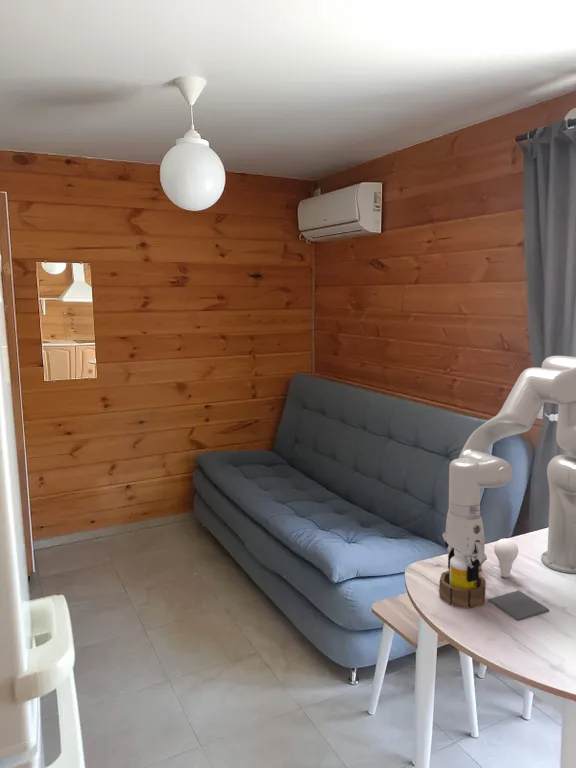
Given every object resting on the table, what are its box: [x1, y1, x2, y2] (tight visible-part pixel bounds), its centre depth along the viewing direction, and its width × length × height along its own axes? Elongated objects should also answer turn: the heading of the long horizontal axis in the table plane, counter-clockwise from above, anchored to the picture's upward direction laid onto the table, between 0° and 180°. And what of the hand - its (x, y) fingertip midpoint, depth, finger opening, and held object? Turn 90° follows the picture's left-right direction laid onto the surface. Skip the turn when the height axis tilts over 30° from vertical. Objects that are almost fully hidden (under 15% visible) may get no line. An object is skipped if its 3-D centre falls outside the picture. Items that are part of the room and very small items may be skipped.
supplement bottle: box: [449, 549, 476, 590], centre depth 148 cm, size 7×7×13 cm
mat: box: [488, 589, 550, 622], centre depth 144 cm, size 10×10×1 cm
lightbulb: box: [493, 538, 519, 579], centre depth 157 cm, size 6×6×11 cm
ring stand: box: [438, 570, 487, 609], centre depth 149 cm, size 11×11×4 cm
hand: (463, 573), depth 148 cm, fingers closed on supplement bottle, 6 cm apart
